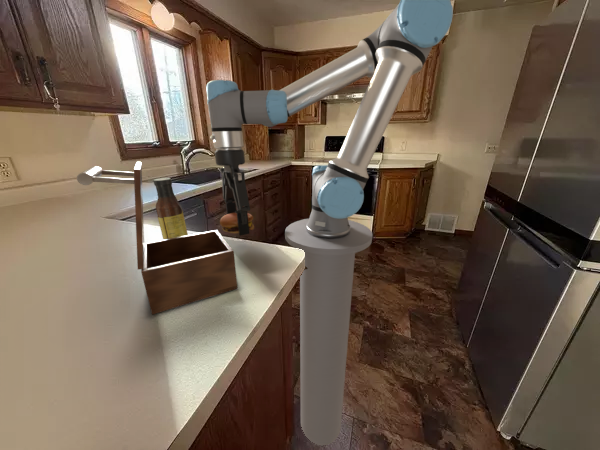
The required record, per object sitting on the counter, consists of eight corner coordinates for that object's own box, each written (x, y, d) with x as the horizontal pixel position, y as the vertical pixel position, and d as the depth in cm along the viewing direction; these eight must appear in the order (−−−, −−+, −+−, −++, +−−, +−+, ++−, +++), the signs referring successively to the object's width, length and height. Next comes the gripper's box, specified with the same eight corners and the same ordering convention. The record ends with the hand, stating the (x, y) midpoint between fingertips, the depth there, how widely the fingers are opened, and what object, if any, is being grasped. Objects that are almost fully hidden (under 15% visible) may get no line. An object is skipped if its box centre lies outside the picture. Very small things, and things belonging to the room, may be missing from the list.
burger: (224, 224, 75) (222, 210, 74) (254, 222, 77) (253, 208, 75) (218, 237, 66) (216, 220, 65) (253, 234, 67) (252, 218, 66)
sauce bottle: (194, 245, 72) (183, 177, 65) (181, 254, 66) (167, 181, 59) (174, 243, 73) (161, 176, 66) (159, 252, 67) (143, 180, 60)
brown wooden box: (221, 261, 62) (217, 229, 59) (237, 288, 51) (233, 250, 48) (150, 279, 55) (142, 243, 52) (152, 314, 44) (141, 271, 41)
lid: (141, 162, 47) (90, 157, 43) (140, 169, 36) (71, 163, 32) (144, 241, 52) (97, 243, 48) (143, 269, 41) (83, 275, 37)
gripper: (205, 148, 71) (216, 220, 79) (226, 151, 53) (237, 244, 60) (231, 147, 75) (239, 216, 82) (258, 149, 56) (265, 238, 64)
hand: (238, 228), depth 71 cm, fingers closed on burger, 10 cm apart
